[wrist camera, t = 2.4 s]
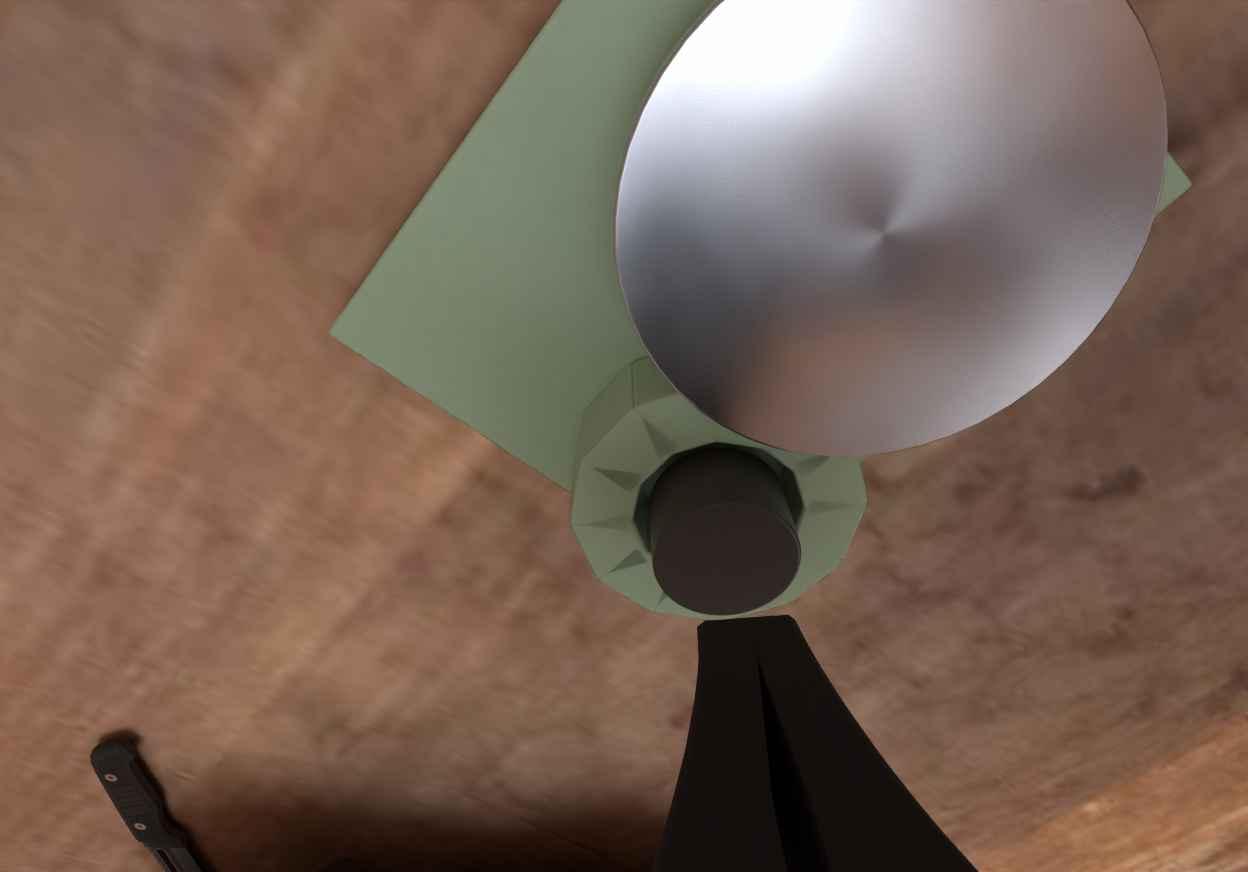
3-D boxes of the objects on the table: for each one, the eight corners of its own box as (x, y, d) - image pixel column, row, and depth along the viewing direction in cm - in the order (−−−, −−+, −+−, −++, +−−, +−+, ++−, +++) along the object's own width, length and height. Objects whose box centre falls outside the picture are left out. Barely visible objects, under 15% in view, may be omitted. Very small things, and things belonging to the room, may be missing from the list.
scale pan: (919, -265, 9) (931, -272, 9) (1256, 191, 12) (1274, 198, 12) (507, 255, 12) (503, 265, 12) (850, 517, 15) (856, 531, 15)
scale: (777, -305, 11) (827, -378, 9) (1162, 176, 15) (1277, 226, 12) (337, 317, 16) (286, 389, 13) (707, 564, 20) (721, 657, 17)
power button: (713, 421, 14) (725, 476, 13) (811, 495, 15) (833, 555, 14) (620, 509, 15) (622, 570, 14) (717, 573, 16) (728, 637, 15)
